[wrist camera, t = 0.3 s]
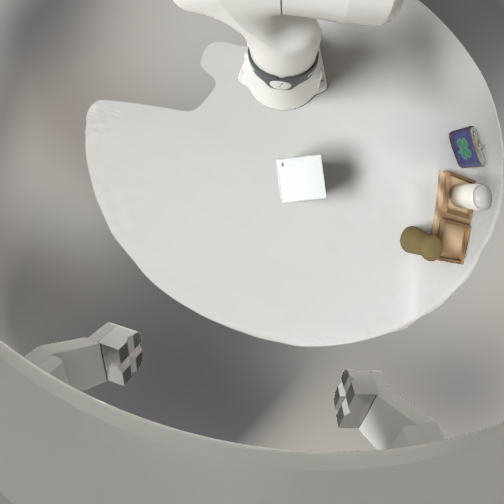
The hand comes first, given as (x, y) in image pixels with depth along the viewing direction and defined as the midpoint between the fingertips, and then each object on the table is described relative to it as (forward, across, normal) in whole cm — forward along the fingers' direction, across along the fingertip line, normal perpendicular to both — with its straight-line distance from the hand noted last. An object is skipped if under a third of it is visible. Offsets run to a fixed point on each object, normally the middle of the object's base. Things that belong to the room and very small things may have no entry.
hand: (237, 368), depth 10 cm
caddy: (+48, -42, -9) cm, 65 cm away
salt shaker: (+47, -42, -14) cm, 64 cm away
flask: (+49, -42, -26) cm, 69 cm away
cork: (+48, -31, -2) cm, 57 cm away
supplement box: (+48, -3, -9) cm, 49 cm away
